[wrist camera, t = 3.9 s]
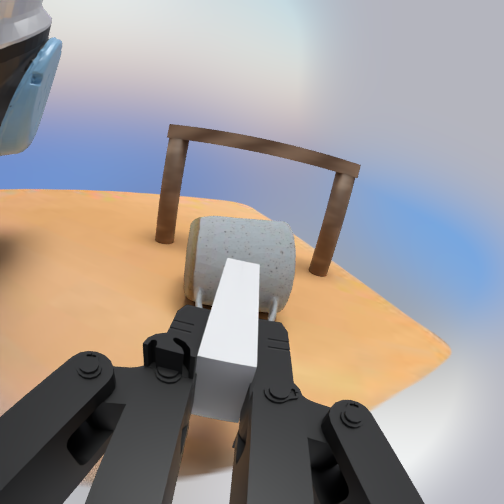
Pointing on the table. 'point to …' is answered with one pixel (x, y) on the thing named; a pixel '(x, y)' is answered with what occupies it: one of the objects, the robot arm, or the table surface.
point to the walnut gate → (343, 168)
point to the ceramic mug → (240, 258)
